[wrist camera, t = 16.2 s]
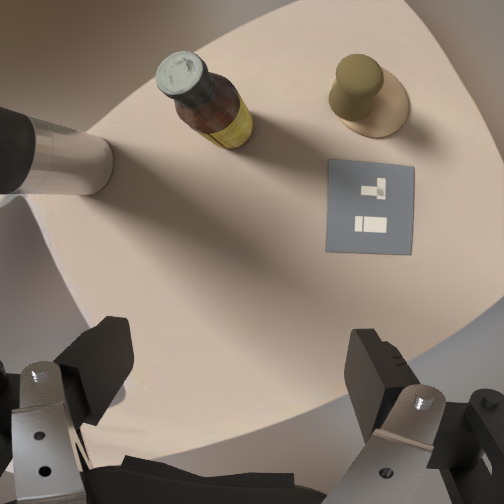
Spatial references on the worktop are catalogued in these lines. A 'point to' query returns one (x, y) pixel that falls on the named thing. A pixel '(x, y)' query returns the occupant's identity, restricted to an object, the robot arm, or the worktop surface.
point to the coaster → (383, 110)
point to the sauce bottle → (205, 100)
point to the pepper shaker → (355, 87)
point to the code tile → (369, 207)
